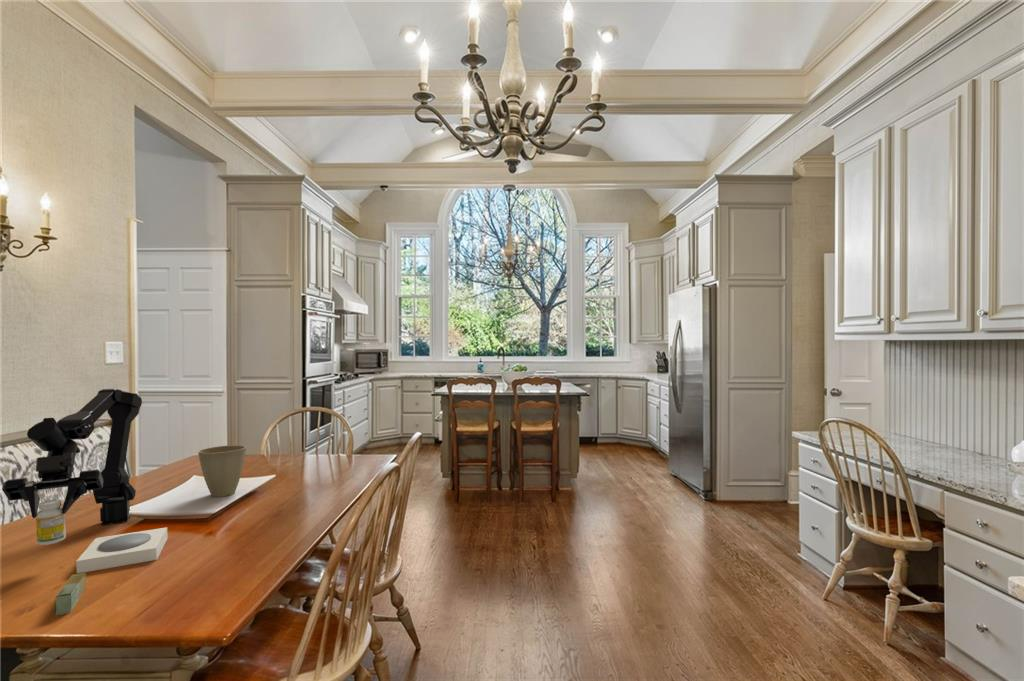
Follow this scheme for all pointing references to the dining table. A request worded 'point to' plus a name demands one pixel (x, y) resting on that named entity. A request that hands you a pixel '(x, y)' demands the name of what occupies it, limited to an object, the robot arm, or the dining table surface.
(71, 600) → the medication box
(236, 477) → the plant pot
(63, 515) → the supplement bottle
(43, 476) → the robot arm
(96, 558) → the plinth
